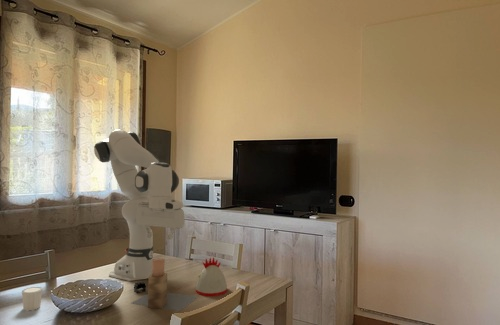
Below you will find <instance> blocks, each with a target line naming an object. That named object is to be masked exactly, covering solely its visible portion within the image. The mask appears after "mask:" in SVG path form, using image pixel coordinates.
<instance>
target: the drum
mask: <svg viewBox="0 0 500 325" xmlns="http://www.w3.org/2000/svg"><path fill="white" fill-rule="evenodd" d="M165 260H166V259H165V258H163V257H162V258H161V257H156V258H153V260H152V276H154V277H160V276H164V273H165V268H166V266H165V264H166V263H165V262H166V261H165Z"/></svg>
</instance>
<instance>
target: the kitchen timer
mask: <svg viewBox="0 0 500 325" xmlns="http://www.w3.org/2000/svg"><path fill="white" fill-rule="evenodd" d="M202 265H203V267H204V268H203V269H202V270H201V272H200V273H199V275H198V277H197V279H196V283H195V284H196V285H195V293H196V294H197V295H200V296H205V297H216V296H221V295H224V294H226V293H227V292H228V291H227V290H228V287H227V286H228V285H227V281H226V277H225V274H224V273H223V271H222V269H221V268H220V266H221V262H220V261H219V262H218V259H216V260H215V258H214V257H213V258H212V257H209V260H208V258H205V261H202Z"/></svg>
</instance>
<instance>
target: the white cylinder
mask: <svg viewBox="0 0 500 325" xmlns="http://www.w3.org/2000/svg"><path fill="white" fill-rule="evenodd" d="M21 294H22V295H21V296H22V307H23V308H22V309H24V310H23V311H25V310H32V311H35V310H34V309H36V310H38V309H40V308H41V303H42V296H43V295H42V294H43V288H42V287H41V286H32V287H26V288H24V289H22V290H21ZM39 307H40V308H39ZM37 308H38V309H37Z"/></svg>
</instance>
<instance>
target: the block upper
mask: <svg viewBox="0 0 500 325" xmlns="http://www.w3.org/2000/svg"><path fill="white" fill-rule="evenodd" d="M147 289H148V292H155V293H162V292H164V291H165V290H166V289H167V290H168V273H167V272H164V276H160V277H154V276H152V275H150V276H149V278H148V288H147ZM148 292H147V293H148Z"/></svg>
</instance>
